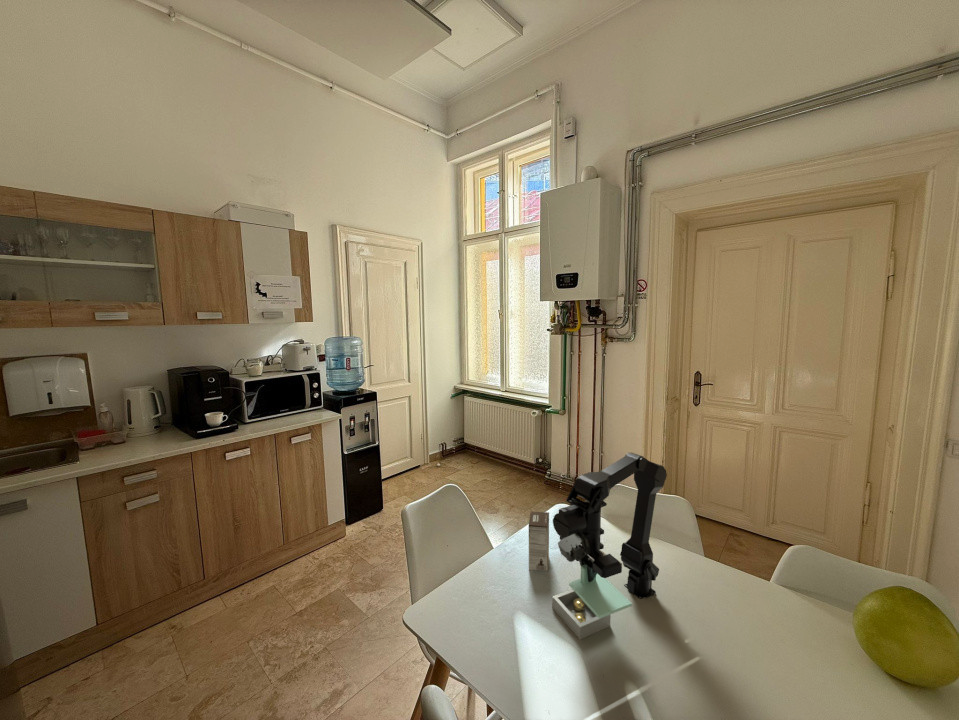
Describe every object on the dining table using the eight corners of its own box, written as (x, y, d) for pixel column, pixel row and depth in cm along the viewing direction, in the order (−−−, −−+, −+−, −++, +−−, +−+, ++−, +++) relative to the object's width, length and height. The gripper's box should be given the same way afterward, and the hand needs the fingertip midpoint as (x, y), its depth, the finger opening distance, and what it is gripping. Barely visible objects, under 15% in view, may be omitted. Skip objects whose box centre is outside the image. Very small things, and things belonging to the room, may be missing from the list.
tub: (580, 598, 115) (580, 585, 114) (610, 627, 104) (610, 614, 103) (552, 609, 111) (552, 596, 110) (579, 641, 100) (580, 627, 99)
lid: (599, 574, 108) (600, 557, 107) (631, 606, 97) (632, 586, 96) (569, 585, 104) (569, 567, 103) (599, 618, 93) (600, 598, 92)
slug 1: (579, 603, 112) (579, 596, 112) (586, 610, 109) (586, 603, 109) (571, 606, 111) (571, 600, 110) (578, 613, 108) (578, 607, 108)
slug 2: (580, 618, 107) (580, 611, 106) (588, 626, 104) (588, 619, 104) (571, 621, 105) (571, 615, 105) (578, 629, 103) (579, 623, 102)
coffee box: (530, 553, 136) (530, 510, 134) (549, 556, 135) (549, 511, 133) (528, 571, 127) (528, 524, 125) (548, 573, 126) (548, 526, 124)
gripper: (543, 514, 108) (543, 566, 110) (586, 551, 91) (585, 613, 93) (577, 506, 112) (576, 556, 114) (624, 540, 95) (622, 599, 97)
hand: (588, 579), depth 104 cm, fingers closed on lid
